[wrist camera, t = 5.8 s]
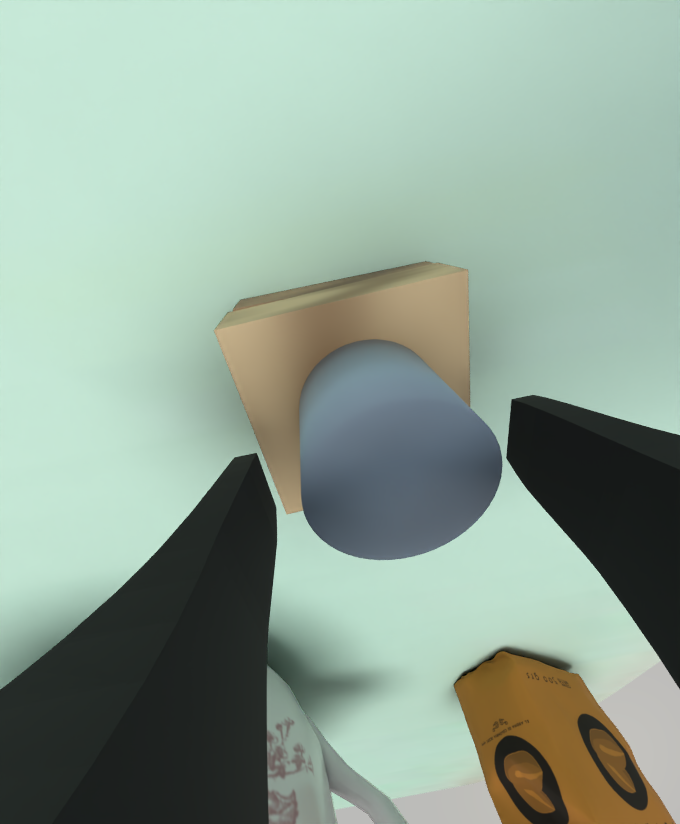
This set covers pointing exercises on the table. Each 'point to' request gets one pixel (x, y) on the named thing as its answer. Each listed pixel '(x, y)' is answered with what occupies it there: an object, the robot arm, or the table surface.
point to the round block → (390, 454)
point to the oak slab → (331, 329)
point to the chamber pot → (311, 768)
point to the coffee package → (552, 748)
